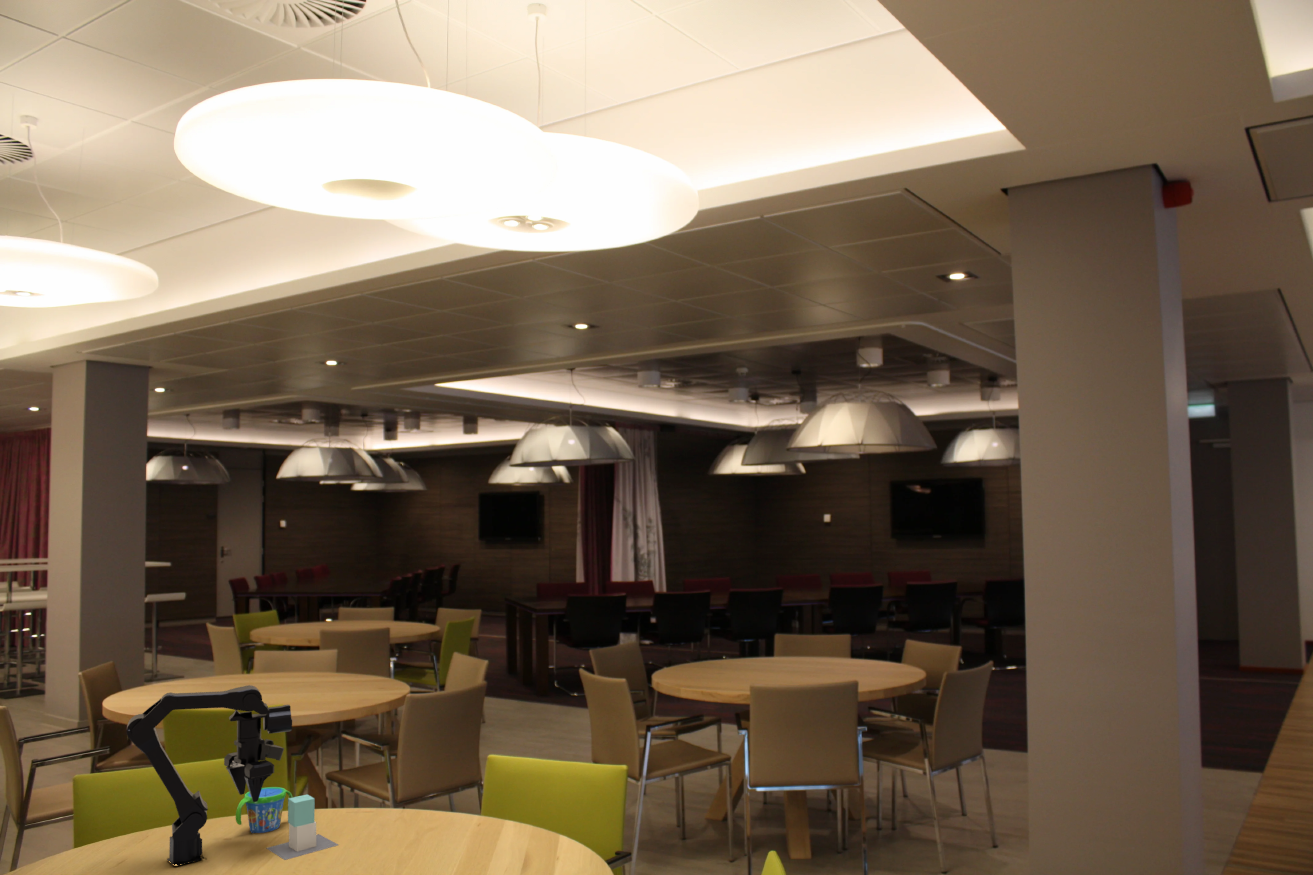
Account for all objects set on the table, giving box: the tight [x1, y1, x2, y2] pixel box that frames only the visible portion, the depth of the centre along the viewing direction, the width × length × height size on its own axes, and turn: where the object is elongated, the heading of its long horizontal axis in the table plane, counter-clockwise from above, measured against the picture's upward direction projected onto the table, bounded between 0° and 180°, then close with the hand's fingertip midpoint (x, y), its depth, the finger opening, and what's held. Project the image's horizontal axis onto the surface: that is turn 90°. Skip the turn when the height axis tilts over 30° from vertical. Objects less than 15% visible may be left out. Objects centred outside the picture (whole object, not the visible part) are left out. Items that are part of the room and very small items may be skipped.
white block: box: [288, 820, 317, 851], centre depth 241 cm, size 5×5×6 cm
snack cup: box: [235, 786, 294, 834], centre depth 257 cm, size 16×10×10 cm
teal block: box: [287, 794, 315, 827], centre depth 242 cm, size 5×5×6 cm
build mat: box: [265, 833, 339, 861], centre depth 241 cm, size 14×12×1 cm
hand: (248, 797), depth 242 cm, fingers open, 9 cm apart
